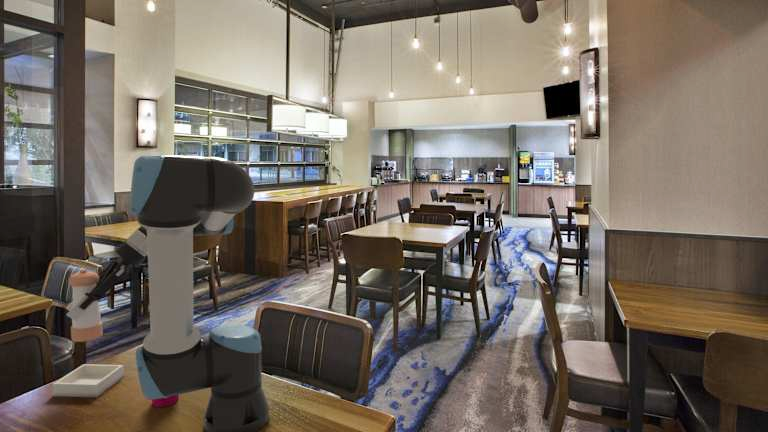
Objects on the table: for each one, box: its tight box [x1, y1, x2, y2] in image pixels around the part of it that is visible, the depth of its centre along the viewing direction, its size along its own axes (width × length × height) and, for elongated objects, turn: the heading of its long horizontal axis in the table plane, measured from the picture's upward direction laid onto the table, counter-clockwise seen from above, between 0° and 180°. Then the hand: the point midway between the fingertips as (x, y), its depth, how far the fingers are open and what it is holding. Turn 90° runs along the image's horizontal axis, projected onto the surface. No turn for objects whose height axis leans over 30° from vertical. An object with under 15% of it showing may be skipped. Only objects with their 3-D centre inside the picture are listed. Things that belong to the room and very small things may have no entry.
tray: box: [51, 363, 125, 398], centre depth 122 cm, size 12×12×4 cm
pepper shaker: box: [67, 269, 104, 343], centre depth 120 cm, size 7×7×19 cm
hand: (70, 314), depth 118 cm, fingers closed on pepper shaker, 6 cm apart
